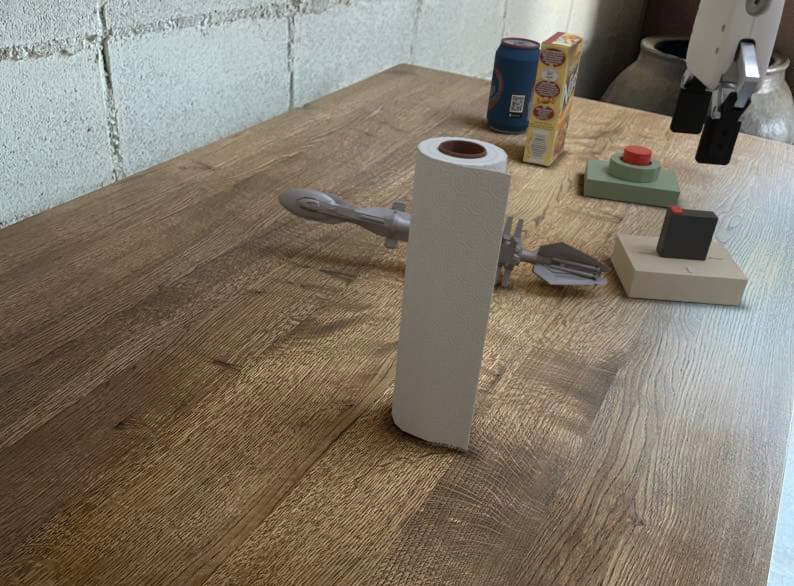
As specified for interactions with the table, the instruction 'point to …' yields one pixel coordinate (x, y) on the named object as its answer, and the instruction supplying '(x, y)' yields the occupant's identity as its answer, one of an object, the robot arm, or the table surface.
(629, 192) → the switch box
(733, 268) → the panel
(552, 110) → the candy box
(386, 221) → the spaceship
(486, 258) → the paper towel roll
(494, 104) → the soda can
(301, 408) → the table surface
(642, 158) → the red push button
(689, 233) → the hob knob
